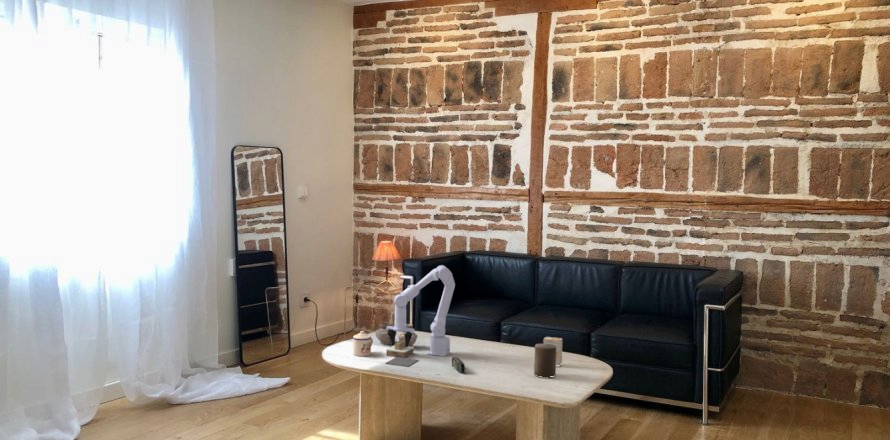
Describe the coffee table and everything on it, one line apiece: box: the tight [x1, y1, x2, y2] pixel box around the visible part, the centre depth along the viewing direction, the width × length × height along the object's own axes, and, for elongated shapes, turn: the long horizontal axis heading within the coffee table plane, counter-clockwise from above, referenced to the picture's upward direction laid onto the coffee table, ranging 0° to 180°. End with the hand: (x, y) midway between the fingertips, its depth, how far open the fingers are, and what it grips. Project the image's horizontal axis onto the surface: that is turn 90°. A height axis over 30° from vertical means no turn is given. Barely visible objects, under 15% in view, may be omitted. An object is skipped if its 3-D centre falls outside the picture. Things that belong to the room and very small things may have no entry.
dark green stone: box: [451, 357, 467, 375], centre depth 345 cm, size 5×3×15 cm
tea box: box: [386, 348, 414, 358], centre depth 371 cm, size 10×10×3 cm
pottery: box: [374, 321, 418, 347], centre depth 389 cm, size 11×25×12 cm, turn 57°
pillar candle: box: [533, 343, 557, 377], centre depth 338 cm, size 10×10×15 cm
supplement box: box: [543, 336, 563, 365], centre depth 355 cm, size 8×5×13 cm, turn 65°
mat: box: [385, 357, 420, 368], centre depth 357 cm, size 12×12×1 cm
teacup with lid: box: [352, 330, 374, 357], centre depth 371 cm, size 12×9×12 cm
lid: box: [386, 341, 415, 353], centre depth 370 cm, size 10×10×4 cm
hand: (400, 345), depth 370 cm, fingers open, 7 cm apart
